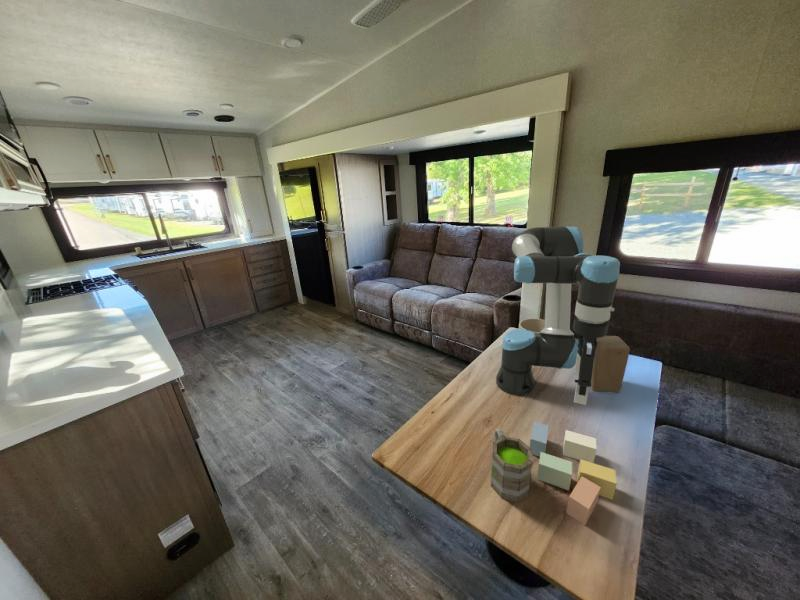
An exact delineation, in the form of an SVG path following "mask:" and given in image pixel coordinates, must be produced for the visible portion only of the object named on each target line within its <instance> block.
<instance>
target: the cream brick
mask: <svg viewBox="0 0 800 600" xmlns="http://www.w3.org/2000/svg"><path fill="white" fill-rule="evenodd" d="M564 432H565V434H564V437H563V445H562V446H563V447H562V456H565V457H569V458H572V459H575V460H578V461H580V460H581V459H582V460H585V461H588V462H591V463H594V464H595V458H596V454H597V449H598V448H597V438H596V437H592V436H589V435H585V434H581V433H579V432H574V431H572V430H571V431H570V430H568V429H566V430H565V431H564Z"/></svg>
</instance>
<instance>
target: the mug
mask: <svg viewBox="0 0 800 600" xmlns="http://www.w3.org/2000/svg"><path fill="white" fill-rule="evenodd" d="M533 459H534V458H533V455H532V449H531V448H530V446H528V445H527V444H526V443H525V442H524V441H523V440H521V438H516V437H510V436H506V435H505V433H504V431H503V430H502V429H501V428H496V429H495V431H494V441H493V442H492V457H491V474H490V487H491V488H492V489H493V490H494V492H496V494H497V495H498V496H499V498H500V499H502V500H507V501H511V502H515V503H520V502H521V501H523V500H524V499H525V498H527V497H528V496H530V483H531V479H532V477H531V476H532V467H533V462H534V460H533Z"/></svg>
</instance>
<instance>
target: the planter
mask: <svg viewBox="0 0 800 600" xmlns="http://www.w3.org/2000/svg"><path fill="white" fill-rule="evenodd" d="M544 327H545V319H543V318H533V317H531V318H525V319H522V320H520V322H519V324H518V329H525V330H528V331H532V332H533V333H534V334H535V336H540V331H541V330H542V329H544Z"/></svg>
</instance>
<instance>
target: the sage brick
mask: <svg viewBox="0 0 800 600" xmlns="http://www.w3.org/2000/svg"><path fill="white" fill-rule="evenodd" d="M572 476H573V461H571V460H567V459H563V458H560V457H558V456H554V455H551V454H549V453H546V452H545V453H543V452H541V453H540V457H539V461H538V469H537V477H536V479H537V480H538V481H542V482H544V483H546V484H549V485H552V486H554V487H558V488H561V489H563V490H567V491H570V487H571V482H572Z"/></svg>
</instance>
